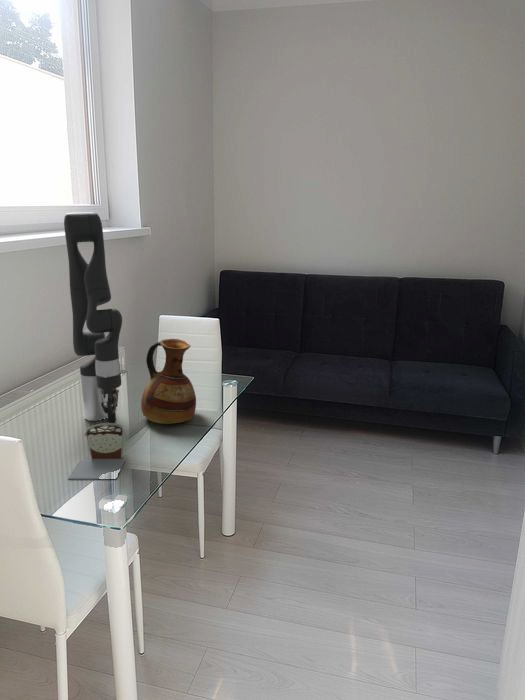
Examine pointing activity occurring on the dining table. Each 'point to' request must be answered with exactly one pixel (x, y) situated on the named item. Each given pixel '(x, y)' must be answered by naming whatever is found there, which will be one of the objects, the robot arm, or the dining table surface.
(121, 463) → the mat
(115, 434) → the food container
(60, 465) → the dining table surface
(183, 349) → the ceramic pitcher
